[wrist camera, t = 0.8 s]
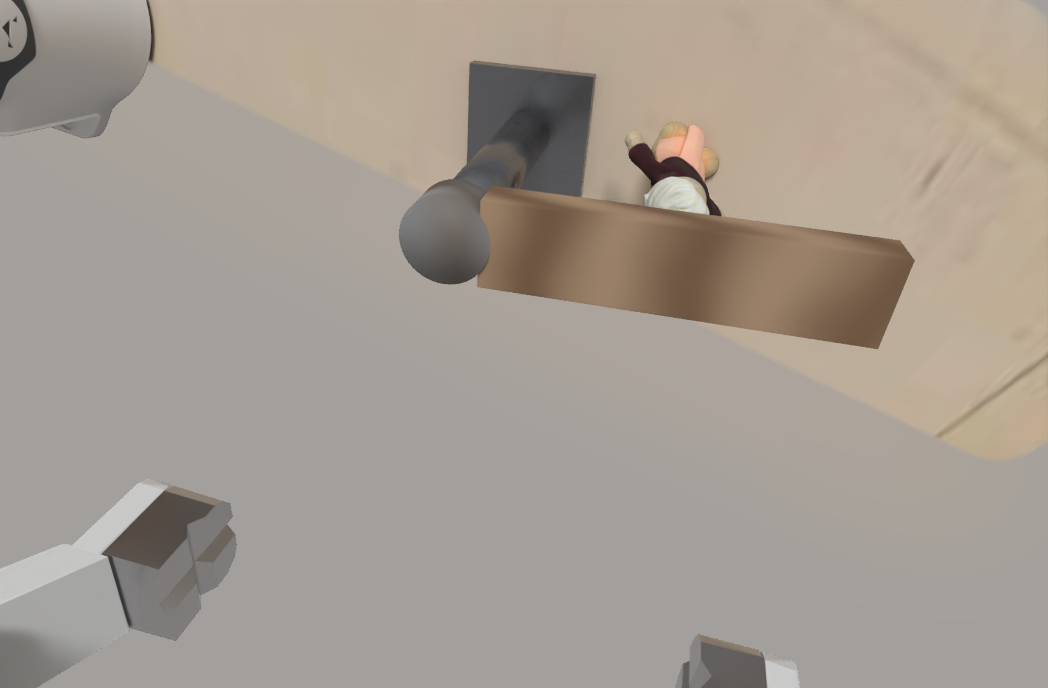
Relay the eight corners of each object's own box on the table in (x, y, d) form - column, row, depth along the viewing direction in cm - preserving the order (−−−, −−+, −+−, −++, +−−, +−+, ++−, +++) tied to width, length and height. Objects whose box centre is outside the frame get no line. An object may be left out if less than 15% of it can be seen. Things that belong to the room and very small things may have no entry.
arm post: (470, 180, 48) (381, 284, 34) (473, 60, 44) (374, 121, 30) (581, 195, 47) (538, 308, 33) (595, 74, 43) (554, 143, 28)
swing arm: (417, 255, 32) (400, 277, 30) (416, 173, 30) (397, 190, 28) (865, 323, 30) (879, 351, 28) (898, 238, 27) (916, 262, 25)
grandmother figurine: (746, 154, 43) (768, 224, 33) (710, 202, 46) (720, 284, 35) (645, 91, 43) (634, 143, 32) (613, 143, 45) (593, 208, 34)
